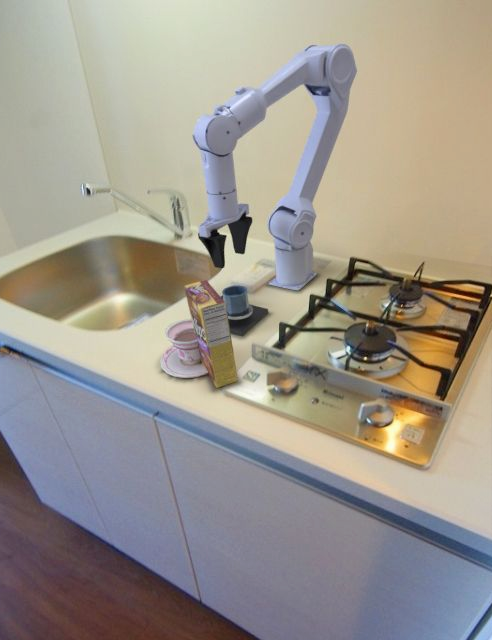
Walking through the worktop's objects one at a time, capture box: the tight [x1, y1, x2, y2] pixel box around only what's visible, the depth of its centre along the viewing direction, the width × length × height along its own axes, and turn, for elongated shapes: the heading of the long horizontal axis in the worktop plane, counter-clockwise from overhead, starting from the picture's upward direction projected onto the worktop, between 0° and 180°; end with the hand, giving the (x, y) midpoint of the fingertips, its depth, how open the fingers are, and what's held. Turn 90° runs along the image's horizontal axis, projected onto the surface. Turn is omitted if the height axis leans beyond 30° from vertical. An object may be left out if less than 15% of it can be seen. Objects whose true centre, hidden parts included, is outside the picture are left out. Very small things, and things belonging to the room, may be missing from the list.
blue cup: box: [221, 284, 250, 314], centre depth 83 cm, size 5×5×4 cm
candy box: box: [183, 279, 238, 389], centre depth 70 cm, size 9×4×15 cm, turn 24°
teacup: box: [160, 318, 209, 379], centre depth 77 cm, size 12×12×6 cm
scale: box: [220, 294, 269, 337], centre depth 88 cm, size 11×10×3 cm
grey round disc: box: [227, 303, 253, 320], centre depth 85 cm, size 6×6×1 cm
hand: (230, 260), depth 89 cm, fingers open, 7 cm apart
